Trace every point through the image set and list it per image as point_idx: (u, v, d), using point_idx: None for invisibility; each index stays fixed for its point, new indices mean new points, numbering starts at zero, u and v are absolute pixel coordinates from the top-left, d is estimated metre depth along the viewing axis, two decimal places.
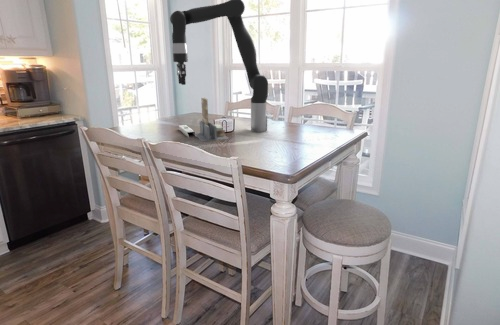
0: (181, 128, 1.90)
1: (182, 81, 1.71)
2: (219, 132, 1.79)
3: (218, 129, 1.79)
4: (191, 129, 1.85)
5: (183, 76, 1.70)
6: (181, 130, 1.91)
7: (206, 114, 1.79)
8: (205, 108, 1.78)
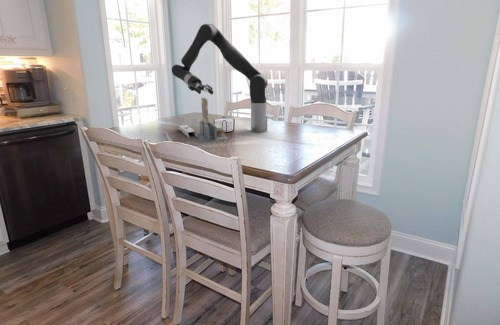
0: (182, 128, 1.90)
1: (197, 92, 1.86)
2: (219, 132, 1.79)
3: (218, 129, 1.79)
4: (192, 129, 1.85)
5: (193, 89, 1.86)
6: (182, 130, 1.91)
7: (206, 114, 1.79)
8: (205, 108, 1.78)
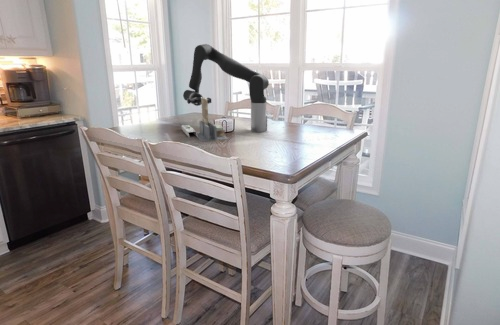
0: (183, 128, 1.91)
1: (192, 103, 1.92)
2: (219, 132, 1.79)
3: (218, 129, 1.79)
4: (193, 129, 1.85)
5: (189, 101, 1.93)
6: (183, 130, 1.91)
7: (206, 114, 1.79)
8: (205, 108, 1.78)
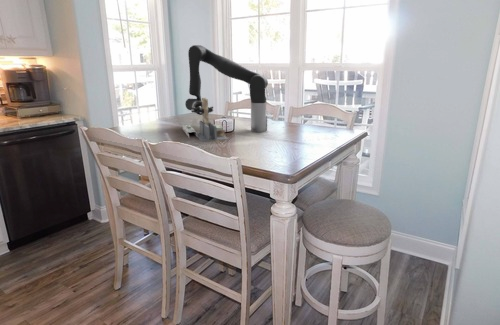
0: (184, 128, 1.91)
1: (201, 112, 1.80)
2: (219, 132, 1.79)
3: (218, 129, 1.79)
4: (193, 129, 1.85)
5: (199, 110, 1.82)
6: (184, 130, 1.91)
7: (206, 114, 1.78)
8: (205, 108, 1.77)
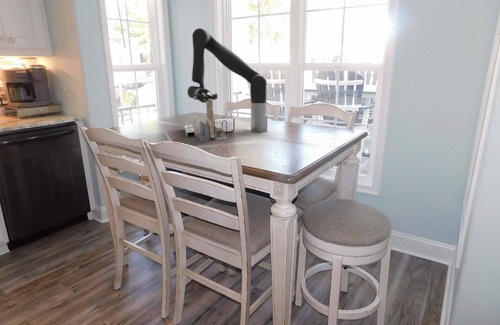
0: (185, 128, 1.91)
1: (205, 99, 1.68)
2: (219, 132, 1.79)
3: (218, 129, 1.79)
4: (193, 129, 1.85)
5: None
6: (185, 130, 1.91)
7: (211, 115, 1.68)
8: (210, 109, 1.67)
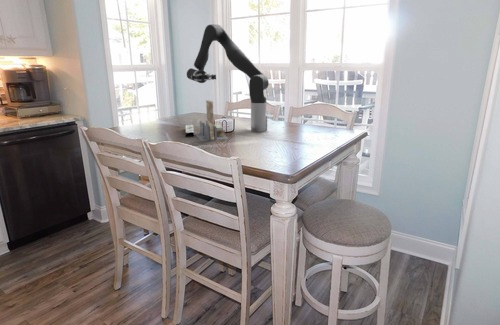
0: None
1: (196, 78, 1.86)
2: (219, 132, 1.79)
3: (218, 129, 1.79)
4: (192, 129, 1.84)
5: (194, 77, 1.88)
6: None
7: (211, 118, 1.68)
8: (210, 111, 1.67)
